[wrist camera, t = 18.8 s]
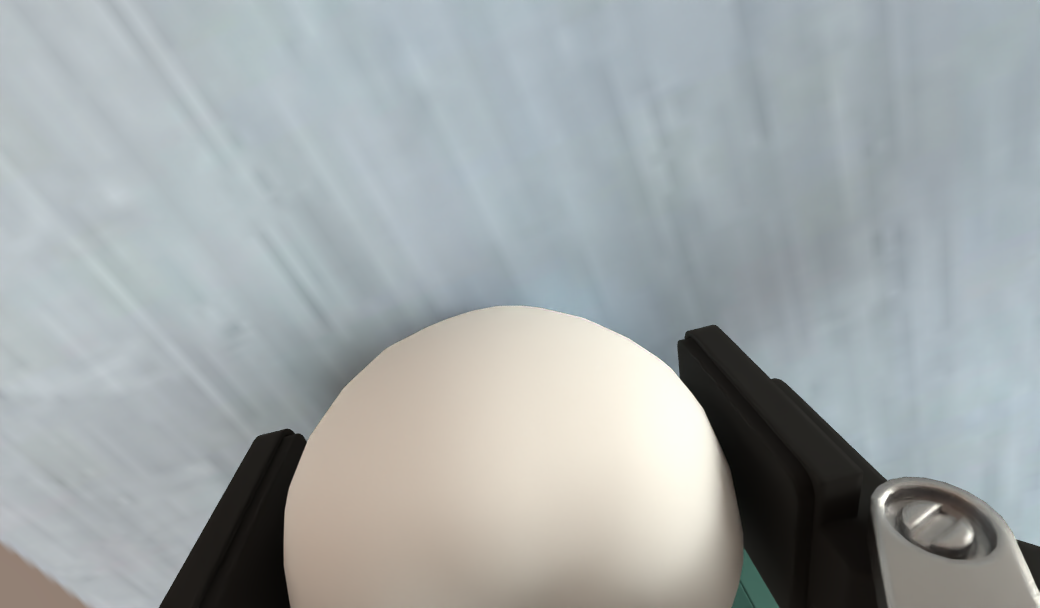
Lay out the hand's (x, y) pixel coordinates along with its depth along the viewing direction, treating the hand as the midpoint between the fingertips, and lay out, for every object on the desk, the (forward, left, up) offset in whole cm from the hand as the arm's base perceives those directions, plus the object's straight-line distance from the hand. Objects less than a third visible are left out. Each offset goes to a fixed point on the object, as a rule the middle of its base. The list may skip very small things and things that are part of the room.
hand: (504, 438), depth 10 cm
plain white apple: (0, 0, -2) cm, 2 cm away
